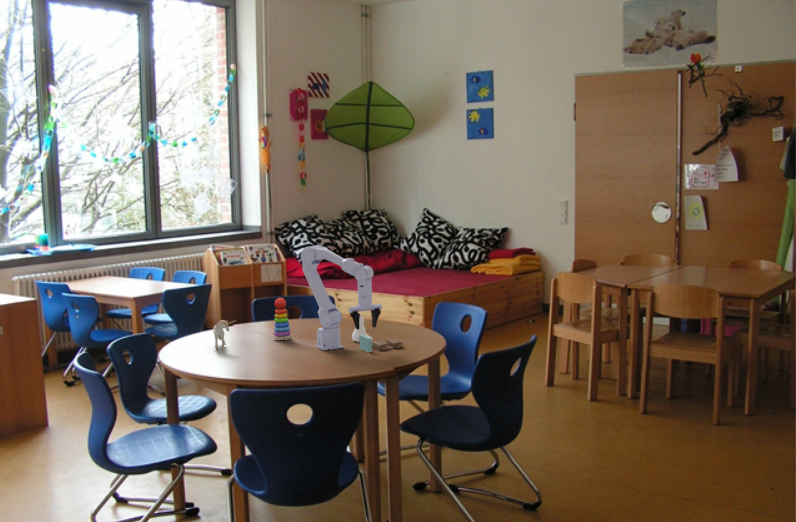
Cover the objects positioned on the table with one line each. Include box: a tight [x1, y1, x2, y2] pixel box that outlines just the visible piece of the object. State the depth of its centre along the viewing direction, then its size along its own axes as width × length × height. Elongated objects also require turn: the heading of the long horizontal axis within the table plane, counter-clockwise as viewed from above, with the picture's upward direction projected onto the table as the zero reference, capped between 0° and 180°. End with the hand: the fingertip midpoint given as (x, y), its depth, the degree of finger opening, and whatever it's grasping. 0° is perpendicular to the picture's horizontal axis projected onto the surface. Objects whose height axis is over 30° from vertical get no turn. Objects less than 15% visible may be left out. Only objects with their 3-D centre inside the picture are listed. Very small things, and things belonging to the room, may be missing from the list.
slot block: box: [372, 338, 404, 351], centre depth 318 cm, size 11×7×2 cm, turn 117°
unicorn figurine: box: [212, 319, 237, 351], centre depth 322 cm, size 7×20×13 cm, turn 33°
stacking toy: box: [273, 297, 292, 342], centre depth 338 cm, size 8×8×19 cm
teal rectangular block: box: [358, 335, 373, 353], centre depth 313 cm, size 2×9×6 cm, turn 26°
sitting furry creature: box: [351, 313, 374, 343], centre depth 331 cm, size 10×9×12 cm
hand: (365, 328), depth 313 cm, fingers open, 7 cm apart
